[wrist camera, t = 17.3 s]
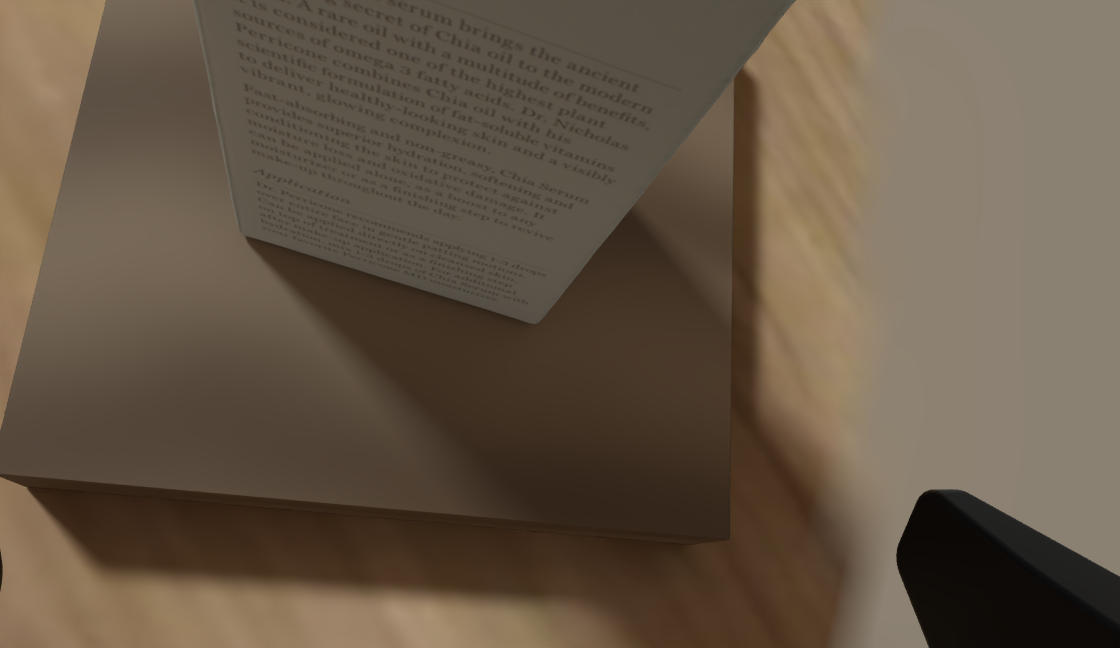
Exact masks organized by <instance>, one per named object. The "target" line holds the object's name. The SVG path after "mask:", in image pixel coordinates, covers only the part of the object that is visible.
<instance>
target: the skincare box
mask: <svg viewBox="0 0 1120 648" xmlns="http://www.w3.org/2000/svg"><path fill="white" fill-rule="evenodd" d="M795 1H796V0H193V6H194V12H195V17H196V21H197V26H198V30H199V35H200V40H201V45H202V49H203V54H204V59H205V64H206V69H207V75H208V80H209V85H210V91H211V97H212V103H213V108H214V113H215V117H216V122H217V127H218V133H219V138H220V144H221V149H222V153H223V158H224V163H225V169H226V173H227V178H228V183H229V188H230V194H231V199H232V203H233V208H234V214H235V218H236V222H237V225H238V228H239V230H240V232H241V233H242V234H243V235H245V236H248V237H251V238H255V239H258V240H262V241H265V242H269V243H272V244H275V245H278V246H282V247H285V248H288V249H291V250H294V251H298V252H301V253H304V254H307V255H310V256H314V257H317V258H320V259H323V260H327V261H330V262H333V263H336V264H340V265H343V266H346V267H349V268H353V269H356V270H359V271H362V272H366V273H369V274H372V275H375V276H378V277H381V278H385V279H388V280H391V281H395V282H398V283H401V284H405V285H408V286H411V287H415V288H418V289H421V290H424V291H428V292H431V293H434V294H437V295H440V296H444V297H447V298H451V299H454V300H457V301H461V302H464V303H467V304H470V305H473V306H477V307H480V308H483V309H487V310H490V311H493V312H496V313H499V314H502V315H505V316H508V317H512V318H515V319H518V320H521V321H524V322H527V323H531V324H537V323H539V322H540V321H541V320H542V319H543V318H544V317H545V315H546V314H547V313H548V311H549V310H550V309H551V308H552V306H553V305H554V304H555V303H556V302H557V300H558V299H559V298H560V297H561V295H562V294H563V293H564V291H565V290H566V289H567V288H568V286H569V285H570V284H571V283H572V281H573V280H574V279H575V278H576V276H577V275H578V274H579V273H580V272H581V270H582V269H583V268H584V266H585V265H586V264H587V262H588V261H589V260H590V259H591V257H592V256H593V254H594V253H595V252H596V250H597V249H598V248H599V247H600V246H601V245H602V243H603V242H604V241H605V240H606V239H607V238H608V236H609V235H610V234H611V233H612V231H613V230H614V229H615V228H616V226H617V225H618V224H619V223H620V221H621V220H622V219H623V218H624V216H625V215H626V214H627V213H628V212H629V210H630V209H631V208H632V207H633V205H634V204H635V203H636V202H637V200H638V199H639V198H640V196H641V195H642V194H643V193H644V191H645V190H646V189H647V188H648V186H649V185H650V184H651V183H652V181H653V180H654V179H655V177H656V176H657V175H658V173H659V172H660V171H661V170H662V168H663V167H664V166H665V165H666V164H667V162H668V161H669V160H670V159H671V157H672V156H673V155H674V153H675V152H676V151H677V149H678V148H679V147H680V145H681V144H682V143H683V142H684V141H685V140H686V139H687V137H688V136H689V135H690V133H691V132H692V131H693V130H694V128H695V127H696V126H697V125H698V123H699V122H700V121H701V119H702V118H703V117H704V116H705V115H706V113H707V112H708V111H709V110H710V108H711V107H712V106H713V105H714V103H715V102H716V101H717V100H718V99H719V97H720V96H721V95H722V93H723V92H724V91H725V89H726V88H727V87H728V86H729V84H730V83H731V82H732V80H733V79H734V78H735V76H736V75H737V74H738V72H739V71H740V70H741V69H742V67H743V66H744V65H745V63H746V62H747V61H748V60H749V58H750V57H751V56H752V55H753V54H754V53H755V52H756V50H757V49H758V48H759V46H760V45H761V43H762V42H763V41H764V39H765V38H766V36H767V35H768V34H769V32H770V31H771V30H772V28H773V27H774V26H775V25H776V23H777V22H778V21H779V20H780V19H781V17H782V16H783V15H784V14H785V12H786V11H787V10H788V9H789V8H790V6H791V5H792V4H793V3H794V2H795Z"/></svg>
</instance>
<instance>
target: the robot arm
mask: <svg viewBox="0 0 1120 648" xmlns="http://www.w3.org/2000/svg"><path fill="white" fill-rule="evenodd" d="M896 557H897V566H898V570H899V573H900V576H901V578H902V581H903V583H904V586H905V588H906V591H907V593H908V596H909V598H910V601H911V604H912V606H913V609H914V611H915V613H916V616H917V619H918V621H919V623H920V626H921V629H922V631H923V634H924V636H925V639H926V641H927V644H928V646H929V648H1120V576H1118V575H1116V574H1114V573H1112V572H1110V571H1108V570H1107V569H1105V568H1103V567H1101V566H1099V565H1098V564H1096V563H1094V562H1092V561H1091V560H1088V559H1087V558H1085V557H1083V556H1081V555H1080V554H1078V553H1076V552H1074V551H1072V550H1071V549H1069V548H1067V547H1065V546H1063V545H1061V544H1060V543H1058V542H1056V541H1054V540H1052V539H1051V538H1049V537H1047V536H1045V535H1043V534H1042V533H1040V532H1038V531H1036V530H1034V529H1032V528H1030V527H1029V526H1027V525H1025V524H1023V523H1022V522H1020V521H1018V520H1016V519H1014V518H1012V517H1011V516H1009V515H1007V514H1005V513H1003V512H1001V511H1000V510H998V509H996V508H994V507H993V506H991V505H989V504H987V503H985V502H984V501H982V500H980V499H978V498H976V497H974V496H973V495H971V494H969V493H967V492H965V491H961V490H952V489H948V490H928V491H926V492H924V493H923V494H922V495H921V496H920V497H919V498H918V500H917V502H916V504H915V507H914V509H913V511H912V514H911V516H910V518H909V521H908V523H907V526H906V528H905V530H904V532H903V535H902V537H901V539H900V542H899V544H898V547H897V554H896ZM2 574H3V566H2V558H1V551H0V590H1V584H2Z"/></svg>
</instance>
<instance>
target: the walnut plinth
mask: <svg viewBox="0 0 1120 648" xmlns="http://www.w3.org/2000/svg"><path fill="white" fill-rule="evenodd" d="M733 142H734V79H733V80H732V82H731V83H730V84H729V86H728V87H727V88H726V89H725V91H724V92H723V93H722V95H721V96H720V97H719V99H718V100H717V101H716V102H715V103H714V105H713V106H712V107H711V108H710V110H709V111H708V112H707V113H706V115H705V116H704V117H703V118H702V119H701V121H700V122H699V123H698V125H697V126H696V127H695V128H694V130H693V131H692V132H691V133H690V135H689V136H688V137H687V139H686V140H685V141H684V142H683V143H682V144H681V145H680V147H679V148H678V149H677V151H676V152H675V153H674V155H673V156H672V157H671V159H670V160H669V161H668V162H667V164H666V165H665V166H664V167H663V168H662V170H661V171H660V172H659V173H658V175H657V176H656V177H655V179H654V180H653V181H652V183H651V184H650V185H649V186H648V188H647V189H646V190H645V191H644V193H643V194H642V195H641V196H640V198H639V199H638V200H637V202H636V203H635V204H634V205H633V207H632V208H631V209H630V210H629V212H628V213H627V214H626V215H625V216H624V218H623V219H622V220H621V221H620V223H619V224H618V225H617V226H616V228H615V229H614V230H613V231H612V233H611V234H610V235H609V236H608V238H607V239H606V240H605V241H604V242H603V243H602V245H601V246H600V247H599V248H598V249H597V250H596V252H595V253H594V254H593V256H592V257H591V259H590V260H589V261H588V262H587V264H586V265H585V266H584V268H583V269H582V270H581V272H580V273H579V274H578V275H577V276H576V278H575V279H574V280H573V281H572V283H571V284H570V285H569V286H568V288H567V289H566V290H565V291H564V293H563V294H562V295H561V297H560V298H559V299H558V300H557V302H556V303H555V304H554V305H553V306H552V308H551V309H550V310H549V311H548V313H547V314H546V315H545V317H544V318H543V319H542V320H541V321H540V322H539V323H537V324H531V323H527V322H524V321H521V320H518V319H515V318H512V317H508V316H505V315H502V314H499V313H496V312H493V311H490V310H487V309H483V308H480V307H477V306H473V305H470V304H467V303H464V302H461V301H457V300H454V299H451V298H447V297H444V296H440V295H437V294H434V293H431V292H428V291H424V290H421V289H418V288H415V287H411V286H408V285H405V284H401V283H398V282H395V281H391V280H388V279H385V278H381V277H378V276H375V275H372V274H369V273H366V272H362V271H359V270H356V269H353V268H349V267H346V266H343V265H340V264H336V263H333V262H330V261H327V260H323V259H320V258H317V257H314V256H310V255H307V254H304V253H301V252H298V251H294V250H291V249H288V248H285V247H282V246H278V245H275V244H272V243H269V242H265V241H262V240H258V239H255V238H251V237H248V236H245V235H243V234H242V233H241V232H240V230H239V228H238V225H237V222H236V218H235V214H234V208H233V203H232V199H231V194H230V188H229V183H228V178H227V173H226V169H225V163H224V158H223V153H222V149H221V144H220V138H219V133H218V127H217V122H216V117H215V113H214V108H213V103H212V97H211V91H210V85H209V80H208V75H207V69H206V64H205V59H204V54H203V49H202V45H201V40H200V35H199V30H198V26H197V21H196V17H195V12H194V6H193V0H106V3H105V7H104V11H103V15H102V20H101V24H100V28H99V32H98V36H97V40H96V44H95V48H94V52H93V56H92V60H91V64H90V68H89V73H88V77H87V81H86V85H85V89H84V93H83V97H82V101H81V105H80V109H79V113H78V117H77V121H76V125H75V130H74V134H73V138H72V142H71V146H70V150H69V154H68V158H67V162H66V166H65V170H64V174H63V178H62V182H61V187H60V191H59V195H58V199H57V203H56V207H55V211H54V215H53V219H52V223H51V227H50V231H49V235H48V240H47V244H46V248H45V252H44V256H43V260H42V264H41V268H40V272H39V276H38V280H37V284H36V288H35V292H34V297H33V301H32V305H31V309H30V313H29V317H28V321H27V325H26V329H25V333H24V337H23V341H22V345H21V349H20V354H19V358H18V362H17V366H16V370H15V374H14V378H13V382H12V386H11V390H10V394H9V398H8V402H7V407H6V411H5V415H4V419H3V423H2V427H1V431H0V477H2V478H5V479H7V480H10V481H12V482H15V483H17V484H20V485H22V486H25V487H37V488H48V489H60V490H71V491H83V492H94V493H106V494H117V495H128V496H140V497H151V498H163V499H174V500H186V501H197V502H208V503H220V504H231V505H243V506H254V507H266V508H277V509H289V510H300V511H311V512H323V513H334V514H346V515H357V516H369V517H380V518H391V519H403V520H414V521H426V522H437V523H449V524H460V525H471V526H483V527H494V528H506V529H517V530H529V531H540V532H552V533H563V534H574V535H586V536H597V537H609V538H620V539H632V540H643V541H654V542H666V543H677V544H689V545H691V544H698V543H705V542H713V541H720V540H727V539H730V451H731V348H732V245H733Z"/></svg>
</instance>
